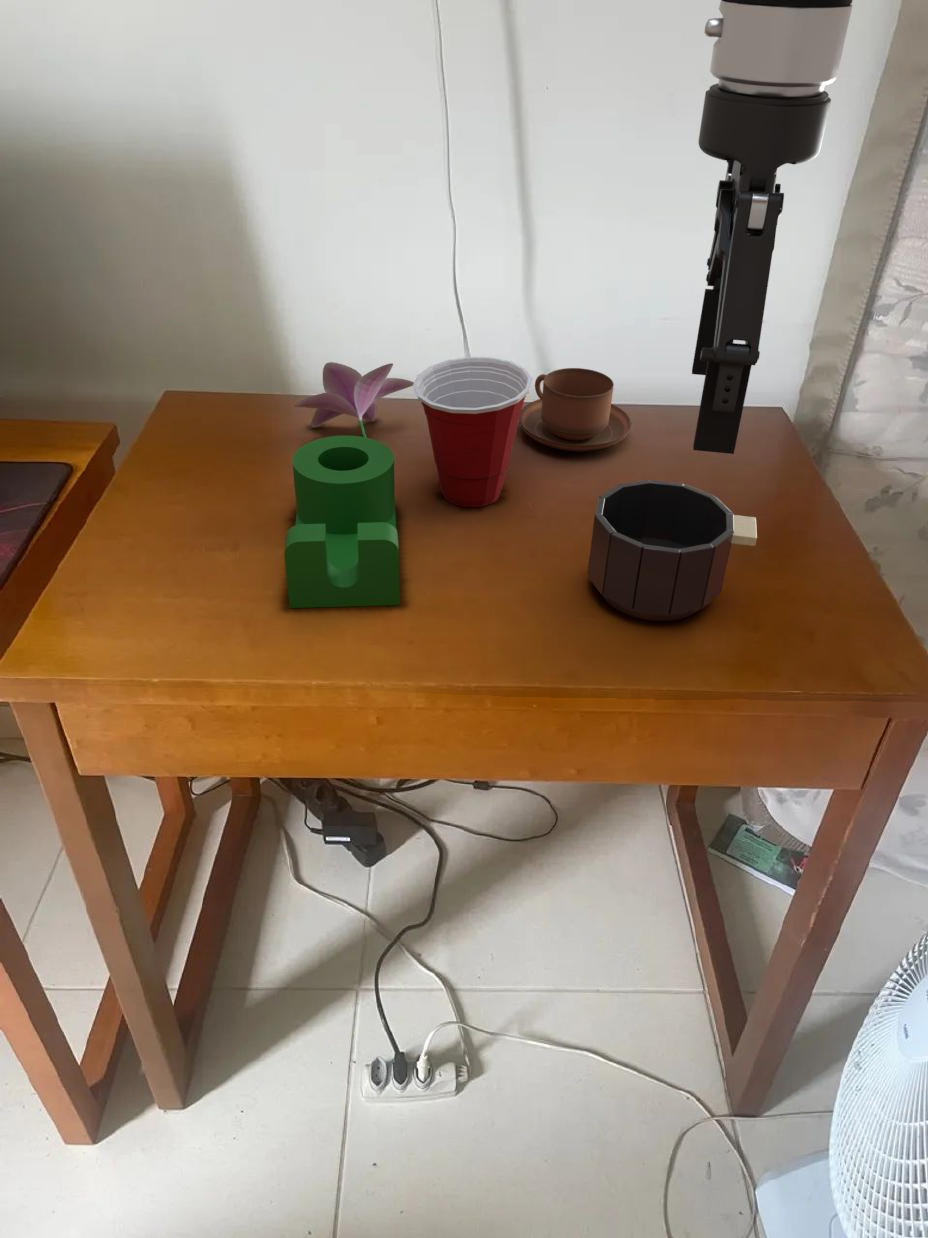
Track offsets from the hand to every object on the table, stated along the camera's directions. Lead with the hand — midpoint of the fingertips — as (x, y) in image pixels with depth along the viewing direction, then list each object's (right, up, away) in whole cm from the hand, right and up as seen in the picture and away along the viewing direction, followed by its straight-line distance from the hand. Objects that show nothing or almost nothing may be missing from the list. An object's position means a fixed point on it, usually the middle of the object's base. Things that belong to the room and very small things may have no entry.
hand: (711, 409), depth 73 cm
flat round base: (-2, -13, +11) cm, 17 cm away
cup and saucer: (-6, +4, +34) cm, 35 cm away
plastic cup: (-18, -3, +23) cm, 30 cm away
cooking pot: (-2, -12, +10) cm, 16 cm away
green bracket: (-29, -9, +15) cm, 34 cm away
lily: (-30, +4, +32) cm, 44 cm away
